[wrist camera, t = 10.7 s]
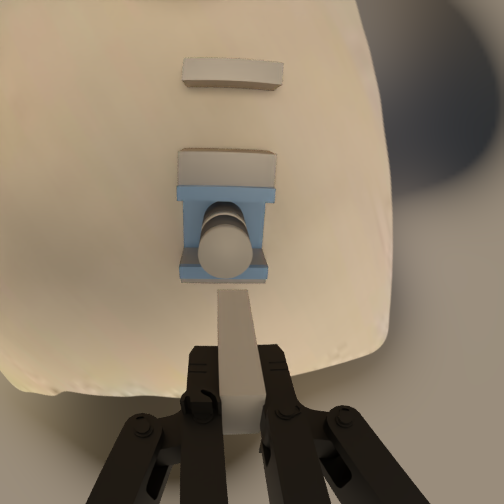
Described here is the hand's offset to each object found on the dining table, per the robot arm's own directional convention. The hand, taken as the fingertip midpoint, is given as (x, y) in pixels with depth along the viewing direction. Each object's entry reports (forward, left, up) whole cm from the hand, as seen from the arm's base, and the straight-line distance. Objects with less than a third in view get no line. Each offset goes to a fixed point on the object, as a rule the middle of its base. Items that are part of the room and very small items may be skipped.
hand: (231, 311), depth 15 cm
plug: (0, 0, -15) cm, 15 cm away
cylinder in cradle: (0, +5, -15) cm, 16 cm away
